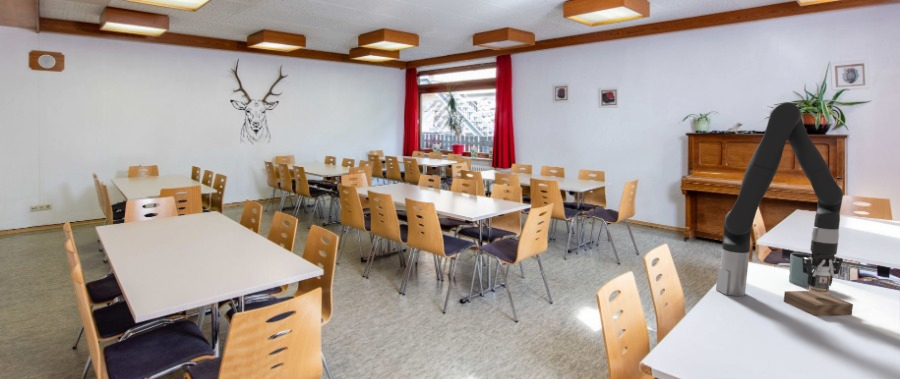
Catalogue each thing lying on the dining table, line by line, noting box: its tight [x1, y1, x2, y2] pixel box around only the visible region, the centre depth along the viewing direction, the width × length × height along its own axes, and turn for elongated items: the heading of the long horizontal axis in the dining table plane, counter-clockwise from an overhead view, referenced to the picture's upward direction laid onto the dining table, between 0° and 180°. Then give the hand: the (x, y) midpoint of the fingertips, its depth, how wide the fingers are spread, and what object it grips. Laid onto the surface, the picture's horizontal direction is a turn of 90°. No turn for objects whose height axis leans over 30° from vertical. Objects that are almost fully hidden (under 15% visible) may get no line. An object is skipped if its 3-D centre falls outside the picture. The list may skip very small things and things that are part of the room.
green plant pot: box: [788, 252, 812, 288], centre depth 202 cm, size 10×10×12 cm
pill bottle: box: [808, 266, 830, 295], centre depth 174 cm, size 6×6×10 cm
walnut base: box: [783, 290, 854, 317], centre depth 175 cm, size 14×14×4 cm
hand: (819, 285), depth 174 cm, fingers closed on pill bottle, 5 cm apart
